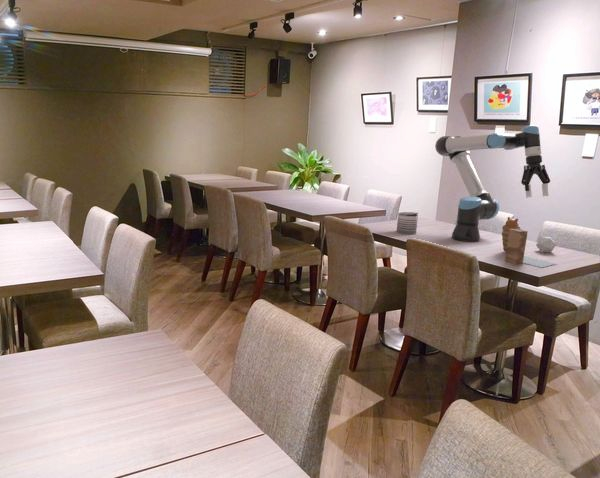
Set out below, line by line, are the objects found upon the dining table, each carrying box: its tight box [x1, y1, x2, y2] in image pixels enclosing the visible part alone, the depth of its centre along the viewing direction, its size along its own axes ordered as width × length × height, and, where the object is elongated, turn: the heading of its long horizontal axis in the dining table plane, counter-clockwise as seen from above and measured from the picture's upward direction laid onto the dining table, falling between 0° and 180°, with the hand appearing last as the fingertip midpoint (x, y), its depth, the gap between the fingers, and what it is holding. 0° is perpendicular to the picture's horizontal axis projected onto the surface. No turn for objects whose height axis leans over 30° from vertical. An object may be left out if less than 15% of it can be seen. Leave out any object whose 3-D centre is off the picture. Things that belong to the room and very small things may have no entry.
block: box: [504, 228, 529, 266], centre depth 236 cm, size 5×6×16 cm
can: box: [396, 211, 419, 236], centre depth 295 cm, size 11×11×12 cm
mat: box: [523, 255, 557, 269], centre depth 244 cm, size 18×14×1 cm
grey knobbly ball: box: [535, 236, 557, 254], centre depth 266 cm, size 8×9×10 cm
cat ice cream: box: [501, 216, 521, 253], centre depth 258 cm, size 9×8×18 cm
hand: (537, 196), depth 265 cm, fingers open, 13 cm apart
